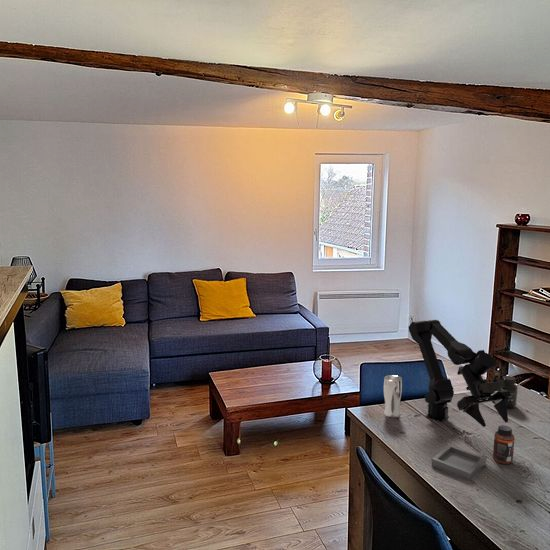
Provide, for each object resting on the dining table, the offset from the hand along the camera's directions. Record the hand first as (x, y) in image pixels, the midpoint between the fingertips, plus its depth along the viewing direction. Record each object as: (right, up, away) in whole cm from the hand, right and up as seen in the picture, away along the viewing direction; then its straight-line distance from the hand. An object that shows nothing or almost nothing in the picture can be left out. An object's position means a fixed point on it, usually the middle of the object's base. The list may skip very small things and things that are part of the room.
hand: (496, 424), depth 166 cm
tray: (-14, -12, -5) cm, 19 cm away
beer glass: (-27, -6, +32) cm, 42 cm away
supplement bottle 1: (+22, -4, +39) cm, 45 cm away
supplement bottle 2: (+1, -11, -2) cm, 12 cm away
